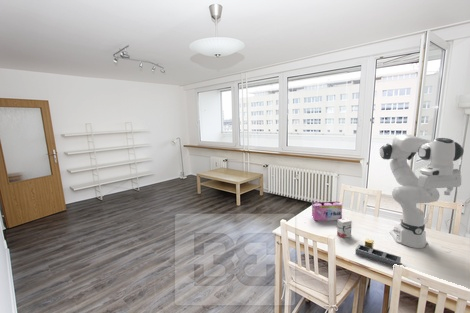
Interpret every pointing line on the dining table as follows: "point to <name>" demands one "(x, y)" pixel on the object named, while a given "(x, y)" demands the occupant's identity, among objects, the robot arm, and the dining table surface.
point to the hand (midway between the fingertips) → (438, 195)
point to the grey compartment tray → (378, 255)
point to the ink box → (344, 227)
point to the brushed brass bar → (369, 243)
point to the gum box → (327, 210)
